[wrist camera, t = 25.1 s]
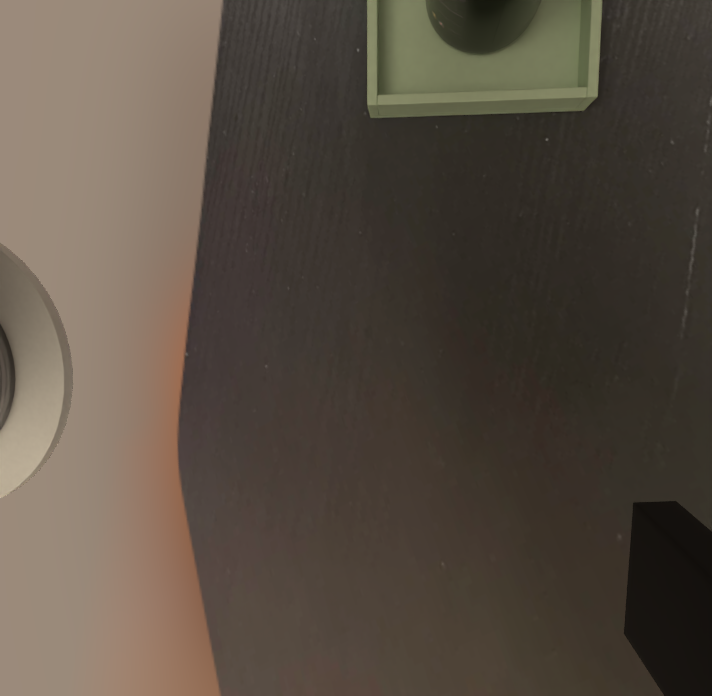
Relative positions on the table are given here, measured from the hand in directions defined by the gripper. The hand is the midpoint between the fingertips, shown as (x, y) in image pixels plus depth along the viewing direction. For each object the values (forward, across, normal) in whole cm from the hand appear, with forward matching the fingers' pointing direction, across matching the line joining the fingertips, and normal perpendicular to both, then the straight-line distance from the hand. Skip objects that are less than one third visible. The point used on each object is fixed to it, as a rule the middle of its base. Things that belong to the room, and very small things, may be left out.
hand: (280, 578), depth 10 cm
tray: (+28, +9, +20) cm, 35 cm away
